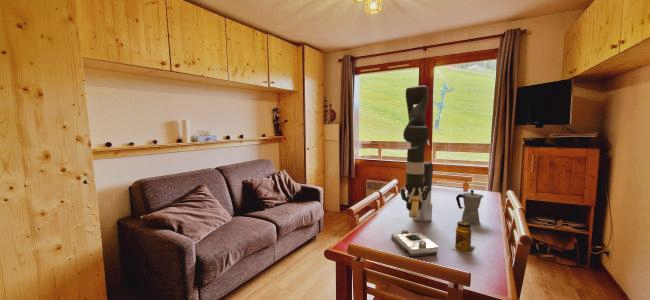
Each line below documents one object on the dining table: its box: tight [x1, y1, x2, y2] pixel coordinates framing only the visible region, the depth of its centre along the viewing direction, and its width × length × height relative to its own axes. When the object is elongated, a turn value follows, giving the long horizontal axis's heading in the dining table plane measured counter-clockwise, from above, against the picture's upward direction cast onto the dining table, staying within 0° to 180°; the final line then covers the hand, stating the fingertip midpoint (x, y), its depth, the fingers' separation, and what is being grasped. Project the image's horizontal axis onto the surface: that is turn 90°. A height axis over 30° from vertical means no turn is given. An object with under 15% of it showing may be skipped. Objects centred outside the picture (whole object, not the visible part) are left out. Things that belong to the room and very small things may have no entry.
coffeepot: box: [455, 189, 484, 225], centre depth 152 cm, size 15×9×18 cm, turn 92°
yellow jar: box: [452, 220, 475, 255], centre depth 120 cm, size 7×8×12 cm
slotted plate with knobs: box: [391, 229, 439, 258], centre depth 123 cm, size 12×20×6 cm, turn 10°
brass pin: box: [408, 194, 420, 219], centre depth 121 cm, size 5×5×10 cm
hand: (413, 209), depth 121 cm, fingers closed on brass pin, 4 cm apart
